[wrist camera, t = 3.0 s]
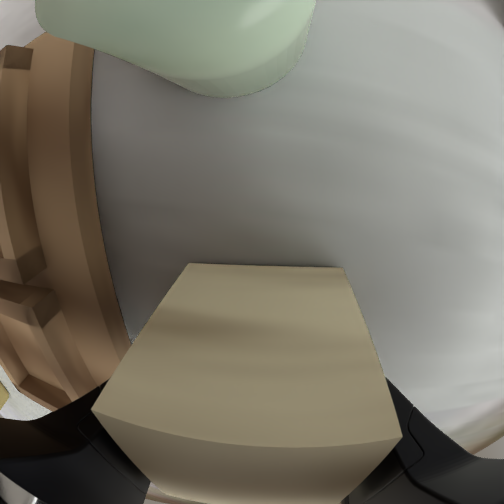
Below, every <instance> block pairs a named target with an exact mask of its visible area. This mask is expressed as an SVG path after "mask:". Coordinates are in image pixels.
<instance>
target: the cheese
mask: <svg viewBox="0 0 504 504" xmlns="http://www.w3.org/2000/svg"><path fill="white" fill-rule="evenodd" d="M8 398H9V394H8V392H7V390H6V389H5V387H4V386H3V385H2V383H1V382H0V410H1V408H2V407H3V405H4V404H5V402H6V401H7V400H8Z"/></svg>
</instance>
